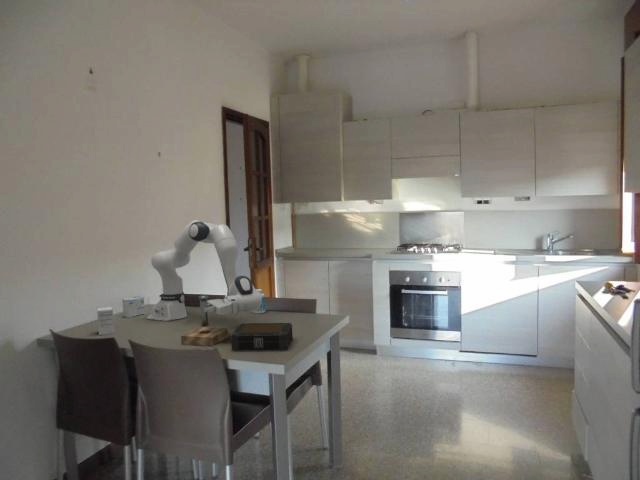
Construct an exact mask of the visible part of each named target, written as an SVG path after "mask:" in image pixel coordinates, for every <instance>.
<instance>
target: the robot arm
mask: <svg viewBox="0 0 640 480" xmlns="http://www.w3.org/2000/svg"><path fill="white" fill-rule="evenodd" d="M199 243H204V244H213V245H214V248H215V251H216V254H217V256H218V260H219V262H220V266H221V270H222V273H223V277H224V280H225V284H226V288H227V295H226V296H225V297H224V298H223V299H220V298H216V299H209V300H208V299H207V303H208V307H204V308H203V311H204V312H207V311H208V312H211V313H212V312H214V313H215V314H217V315H220V316H221V315H222V316H225V315H233V316H234V315H238V313H241V312H242V313H243V312H244V313H245V312H246V313H248V312H253V310H256V309H259V308H260V306H261V305H262V295H261V293H259V292H258V291H257V290H256V289H257V288H255V286H254V284H253V281H252V279H250V278H249V277H248V276H246V275H239V276H238V275H237V272H236V264H237V263H236V262H237V259H238V255H239V248H238V244H237V241H236V238H235V236H234V234H233V232H232V231H231V229H230V228H229V226H228V225H227V224H222V223H220V224H217V223H212V222H204V221H200V220H199V219H194V220H192V221H190V222H189V223H188V224H186V226H185V227H184V228H183V229H182V230H181V231H180V232H179V234H178V235H177V236H176V238H175V239H174V241H173V244H174V247H173V248H171V249H167V250H162V251H161V250H160V251H158V252H156V253H154V254H153V255H152V257H151V260H150V261H151V266H152V267H153V269H154V270H156V271H157V272H158V274H159V276H160V279H161V283H162V293H160V295H158V296H159V298H160V299H159V301H158V302H157V303H155V304H154V305H153V306H152V308H151V312H150V314H149V315H148V316H147V317H146V320H153V319H154V321H161V320H162V321H163V322H164V321H165V322H168V321H173V320H180V319H184V318H187V317H188V314H187V310H186V305H185V292H184V286H183V285H184V284H183V278H182V277H181V276H180V275H179V274H178V273H177V271H176V269H180V268H182V267H185V266H187V265H188V264H189V263H190V261H191V252H192V251H193V250H194V249H195V248H196V246H197V245H198V244H199Z"/></svg>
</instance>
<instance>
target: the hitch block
mask: <svg viewBox="0 0 640 480" xmlns="http://www.w3.org/2000/svg"><path fill="white" fill-rule="evenodd" d="M227 338H229V328H228V327H227V328H226V327H208V326H205V327H203V326H198V327H196V328H193V330H189V331H188V332H186V333H183V334H182V335H180V342H181V345H183V346H186V345H187V346H202V347H204V346H205V347H213V346H215V345H216V344H219V343H221V342H222V341H223V339H224V340H226V339H227ZM218 342H219V343H218Z"/></svg>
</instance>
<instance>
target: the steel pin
mask: <svg viewBox="0 0 640 480" xmlns="http://www.w3.org/2000/svg"><path fill="white" fill-rule="evenodd" d="M208 299H209V295H199V296H198V300H199V307H200V323H201V326H200V327H208V326H210V324H209V323H210V321H209V311H207V312H204V311H203V308H204V307H208V303H207V300H208Z"/></svg>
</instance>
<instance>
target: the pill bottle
mask: <svg viewBox="0 0 640 480" xmlns="http://www.w3.org/2000/svg"><path fill="white" fill-rule="evenodd" d="M255 289H256V290H257V291H258V292H259V293H261V295H262V305H261V306H260V308H259V309H256V310H253V311H252V313H253V314H255V315H257V314H264V313H265V312H266V298H265V297H266V296H265V294H264V293H263V289H259V288H258V289H257V288H255Z"/></svg>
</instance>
